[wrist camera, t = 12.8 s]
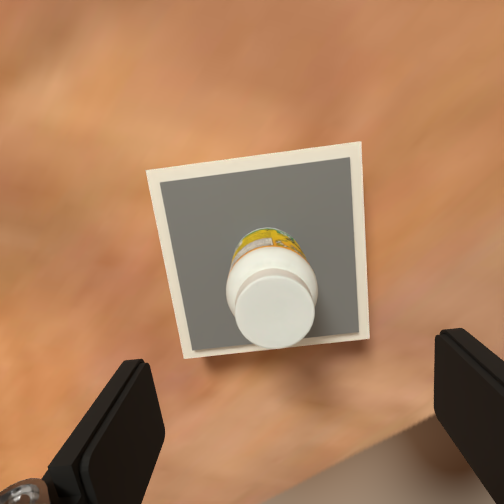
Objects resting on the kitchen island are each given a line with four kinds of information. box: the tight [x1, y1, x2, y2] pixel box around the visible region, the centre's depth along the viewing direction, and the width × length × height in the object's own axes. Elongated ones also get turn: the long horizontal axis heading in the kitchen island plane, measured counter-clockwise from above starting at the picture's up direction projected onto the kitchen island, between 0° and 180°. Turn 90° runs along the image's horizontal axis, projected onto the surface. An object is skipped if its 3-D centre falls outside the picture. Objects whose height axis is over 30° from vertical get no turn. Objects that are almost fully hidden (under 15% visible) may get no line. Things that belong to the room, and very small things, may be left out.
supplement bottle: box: [226, 228, 318, 349], centre depth 21 cm, size 5×5×10 cm
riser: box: [146, 141, 370, 359], centre depth 28 cm, size 16×16×5 cm
